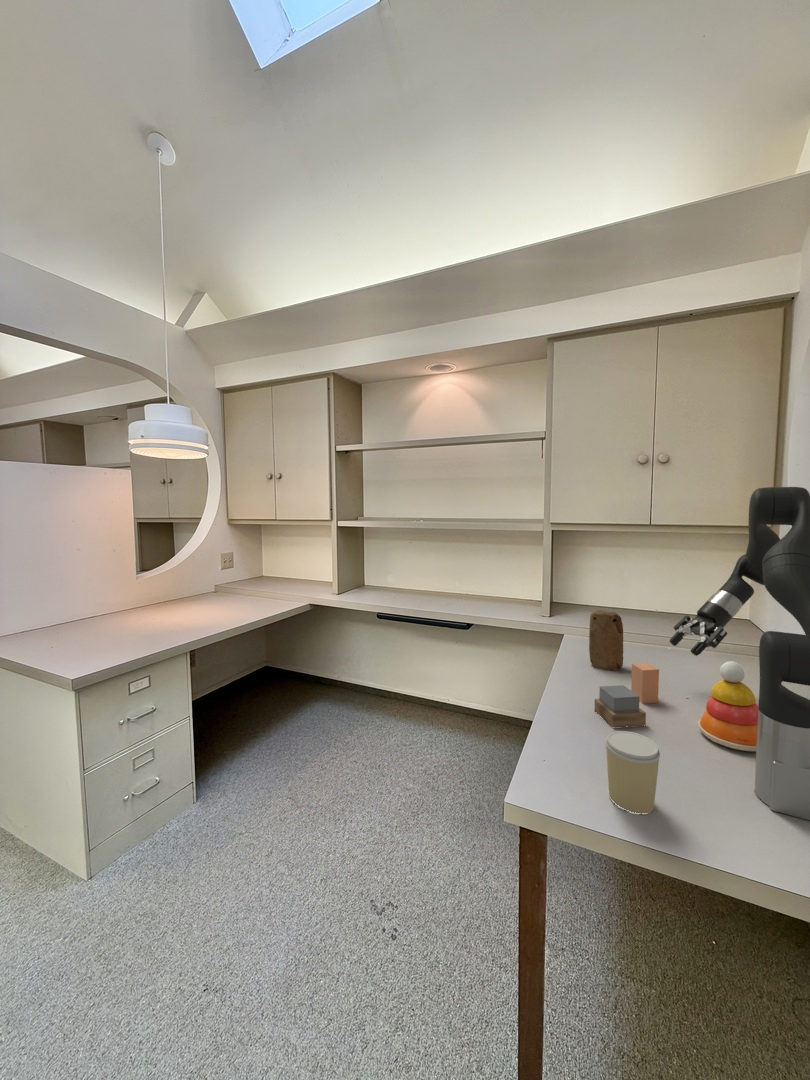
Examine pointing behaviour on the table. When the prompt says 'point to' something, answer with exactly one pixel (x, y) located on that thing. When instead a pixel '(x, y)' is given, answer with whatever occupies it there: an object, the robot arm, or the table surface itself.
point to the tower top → (619, 698)
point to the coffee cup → (632, 770)
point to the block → (606, 640)
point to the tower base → (620, 716)
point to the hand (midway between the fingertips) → (682, 648)
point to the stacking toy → (731, 711)
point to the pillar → (645, 682)
